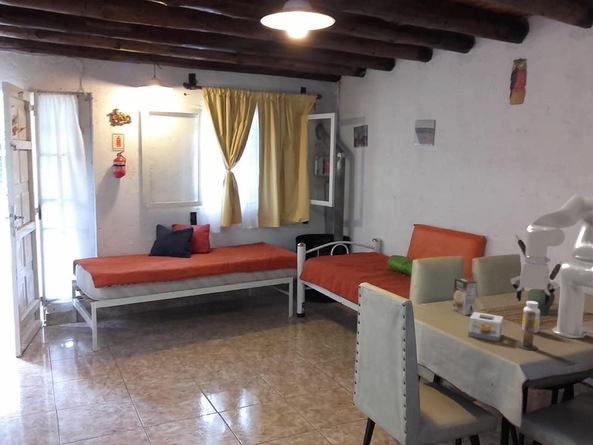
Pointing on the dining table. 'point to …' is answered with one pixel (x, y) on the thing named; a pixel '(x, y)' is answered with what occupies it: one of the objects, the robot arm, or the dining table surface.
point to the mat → (527, 348)
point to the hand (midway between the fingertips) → (532, 302)
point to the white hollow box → (476, 330)
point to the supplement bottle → (532, 307)
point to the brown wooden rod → (529, 329)
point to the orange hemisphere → (485, 327)
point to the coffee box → (464, 296)
